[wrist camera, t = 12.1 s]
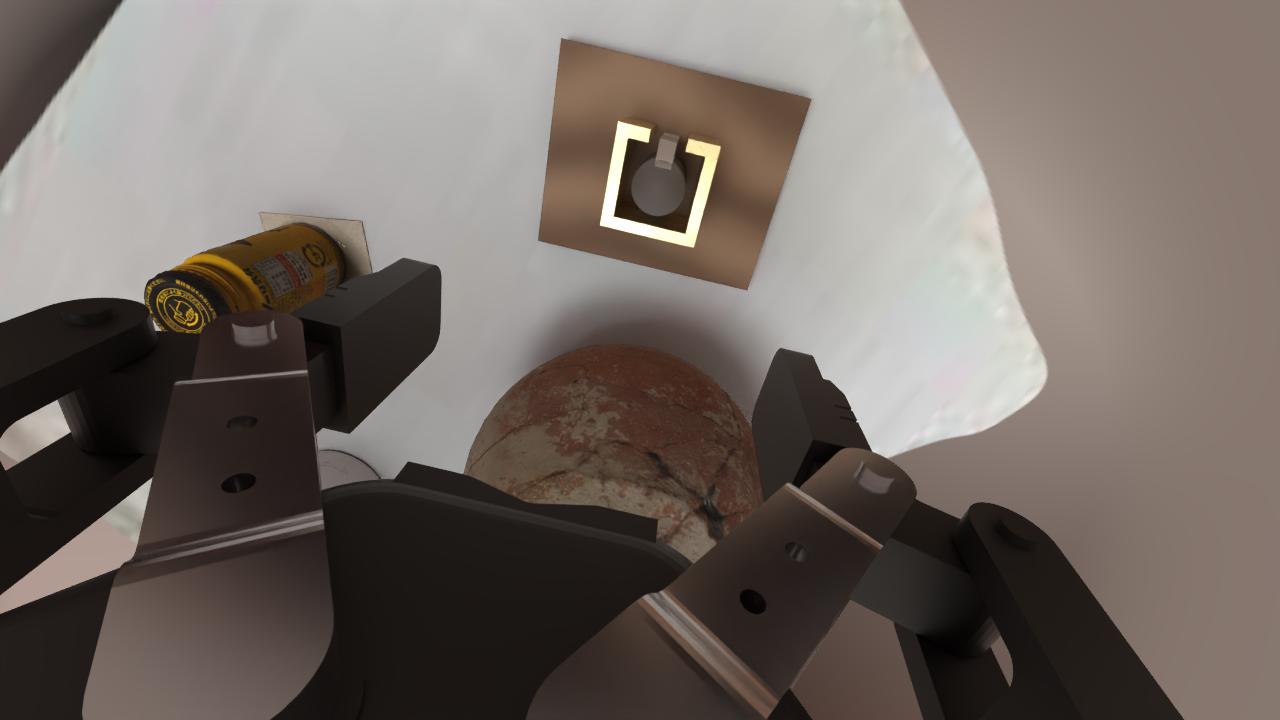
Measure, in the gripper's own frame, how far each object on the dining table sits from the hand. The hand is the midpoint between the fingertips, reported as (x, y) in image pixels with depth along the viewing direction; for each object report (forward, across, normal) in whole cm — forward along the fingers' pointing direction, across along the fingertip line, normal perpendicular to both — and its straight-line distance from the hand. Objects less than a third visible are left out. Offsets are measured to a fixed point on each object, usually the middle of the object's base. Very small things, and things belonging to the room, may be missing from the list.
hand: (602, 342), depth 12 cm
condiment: (+28, +26, +13) cm, 40 cm away
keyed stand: (+27, 0, 0) cm, 27 cm away
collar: (+26, 0, 0) cm, 26 cm away
